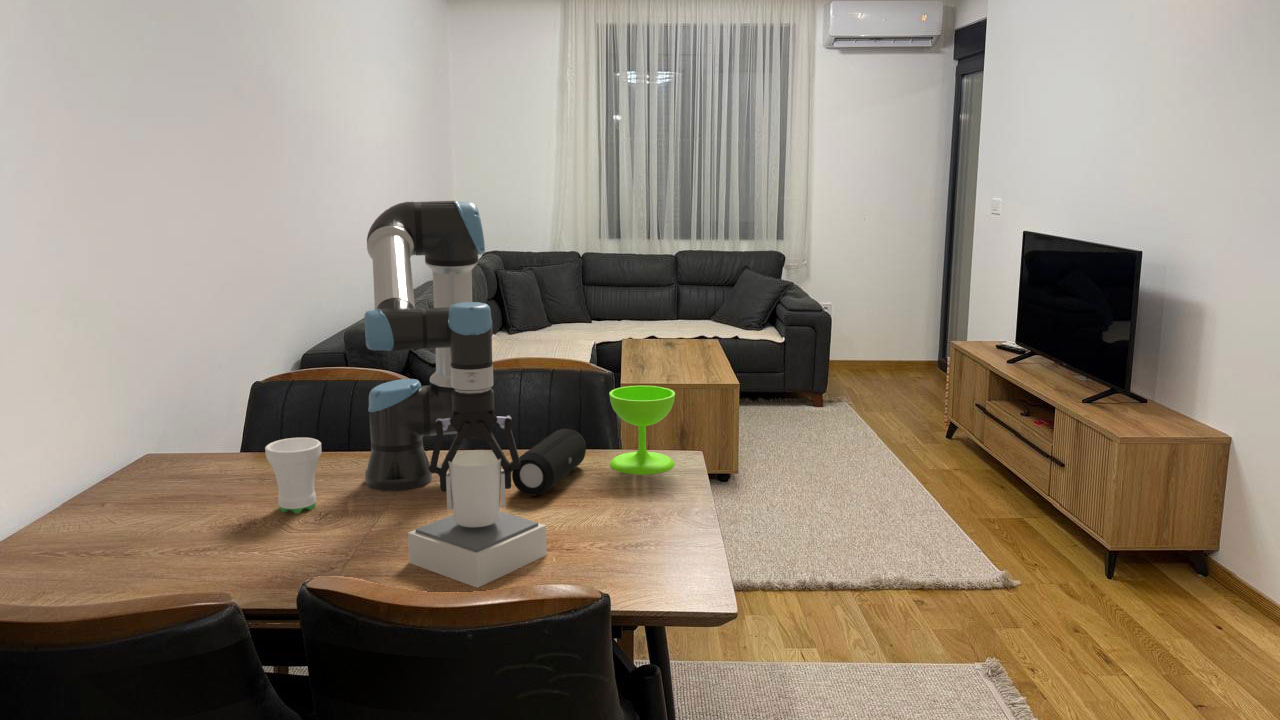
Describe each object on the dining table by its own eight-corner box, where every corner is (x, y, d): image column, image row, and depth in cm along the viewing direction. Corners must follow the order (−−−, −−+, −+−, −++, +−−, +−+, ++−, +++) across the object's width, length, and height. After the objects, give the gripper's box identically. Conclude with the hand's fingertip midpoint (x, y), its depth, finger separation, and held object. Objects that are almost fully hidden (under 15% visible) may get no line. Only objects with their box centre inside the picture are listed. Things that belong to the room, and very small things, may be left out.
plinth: (409, 563, 182) (407, 529, 181) (479, 533, 197) (478, 502, 195) (477, 587, 172) (476, 552, 171) (546, 555, 186) (545, 522, 185)
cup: (335, 507, 211) (330, 444, 208) (286, 521, 203) (281, 455, 200) (308, 495, 219) (304, 434, 216) (260, 508, 211) (255, 444, 208)
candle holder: (453, 510, 187) (450, 450, 185) (504, 509, 188) (503, 449, 185) (447, 530, 177) (444, 466, 175) (502, 528, 178) (500, 465, 176)
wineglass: (599, 470, 237) (598, 397, 233) (624, 452, 251) (623, 383, 248) (661, 477, 231) (662, 403, 227) (683, 458, 246) (684, 388, 242)
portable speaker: (550, 501, 215) (549, 457, 213) (508, 497, 218) (507, 453, 216) (589, 467, 239) (588, 427, 237) (551, 463, 242) (550, 424, 240)
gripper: (409, 395, 172) (415, 516, 177) (534, 391, 175) (536, 510, 180) (412, 385, 180) (418, 502, 184) (532, 382, 183) (535, 496, 187)
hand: (476, 506), depth 182 cm, fingers closed on candle holder, 9 cm apart
